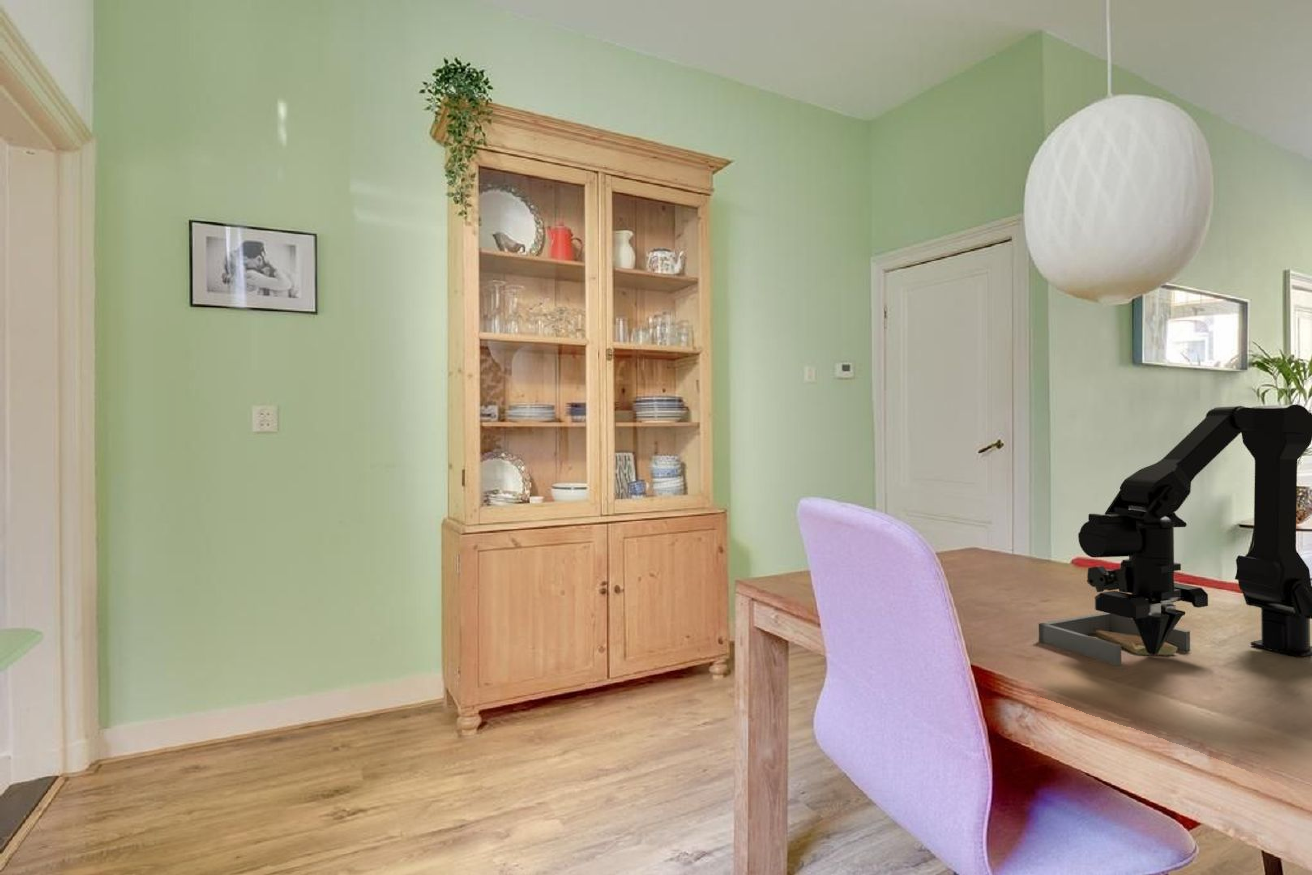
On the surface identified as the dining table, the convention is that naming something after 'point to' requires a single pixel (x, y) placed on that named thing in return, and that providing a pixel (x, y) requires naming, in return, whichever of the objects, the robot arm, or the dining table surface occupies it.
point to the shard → (1133, 642)
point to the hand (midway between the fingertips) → (1152, 653)
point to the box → (1076, 640)
